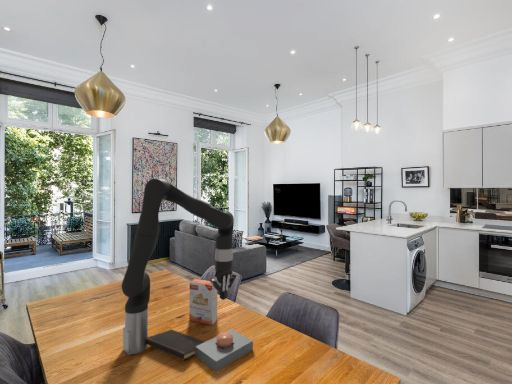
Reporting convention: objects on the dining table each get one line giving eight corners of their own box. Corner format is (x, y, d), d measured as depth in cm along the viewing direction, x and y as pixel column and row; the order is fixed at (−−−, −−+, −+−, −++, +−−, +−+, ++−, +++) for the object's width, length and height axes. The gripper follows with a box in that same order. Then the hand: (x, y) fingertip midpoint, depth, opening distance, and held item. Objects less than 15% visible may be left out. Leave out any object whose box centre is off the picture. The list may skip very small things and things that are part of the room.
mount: (216, 371, 105) (216, 361, 104) (195, 356, 114) (195, 346, 114) (252, 349, 119) (252, 340, 119) (231, 337, 129) (231, 329, 129)
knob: (223, 357, 112) (223, 343, 112) (213, 350, 116) (213, 336, 116) (236, 350, 117) (236, 336, 117) (225, 343, 122) (225, 330, 121)
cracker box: (188, 321, 144) (188, 281, 144) (195, 316, 150) (195, 278, 150) (211, 326, 139) (212, 285, 139) (217, 320, 145) (217, 281, 145)
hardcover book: (170, 334, 133) (171, 329, 133) (208, 348, 122) (209, 343, 122) (143, 343, 119) (144, 338, 119) (183, 360, 108) (184, 354, 108)
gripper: (217, 263, 109) (216, 306, 109) (241, 257, 119) (240, 297, 119) (205, 259, 114) (205, 300, 115) (230, 254, 124) (229, 292, 124)
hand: (223, 298), depth 117 cm, fingers closed
